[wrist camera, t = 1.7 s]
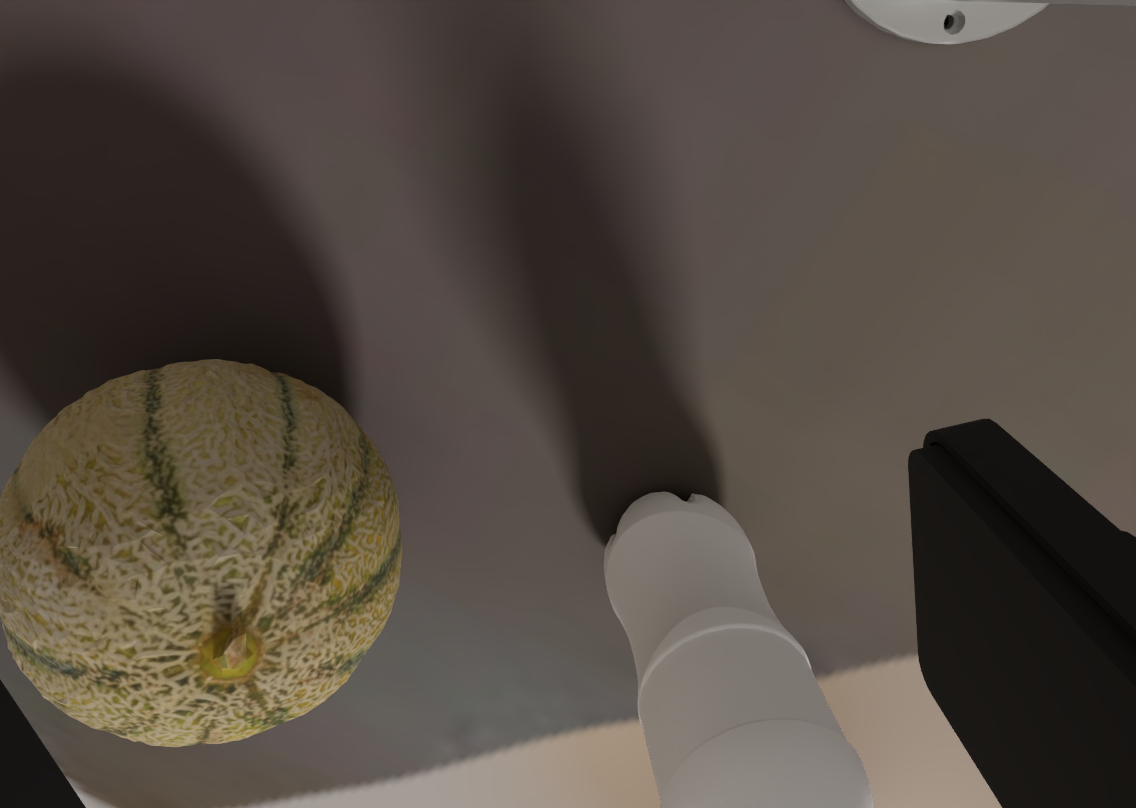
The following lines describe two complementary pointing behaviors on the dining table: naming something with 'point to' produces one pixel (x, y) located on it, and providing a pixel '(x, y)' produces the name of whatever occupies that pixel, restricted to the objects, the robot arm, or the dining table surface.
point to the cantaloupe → (197, 553)
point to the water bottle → (721, 668)
